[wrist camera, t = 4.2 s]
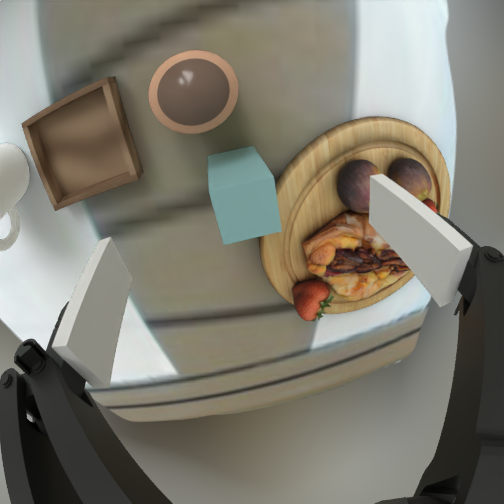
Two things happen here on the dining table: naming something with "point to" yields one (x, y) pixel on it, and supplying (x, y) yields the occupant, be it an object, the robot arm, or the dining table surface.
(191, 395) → the dining table surface
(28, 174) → the mug
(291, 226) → the wooden plate with food
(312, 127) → the dining table surface
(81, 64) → the dining table surface
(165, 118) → the terracotta pot
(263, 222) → the teal block
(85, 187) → the walnut box
